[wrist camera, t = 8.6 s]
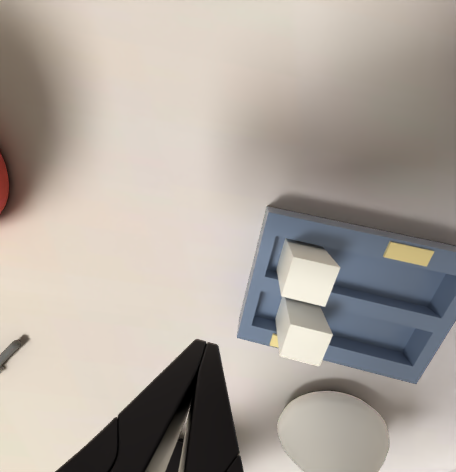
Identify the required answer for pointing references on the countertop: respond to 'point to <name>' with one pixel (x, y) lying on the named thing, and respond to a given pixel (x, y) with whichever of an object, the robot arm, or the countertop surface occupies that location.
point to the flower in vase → (333, 433)
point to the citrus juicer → (3, 184)
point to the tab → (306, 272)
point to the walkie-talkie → (8, 352)
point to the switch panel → (361, 293)
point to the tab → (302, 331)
